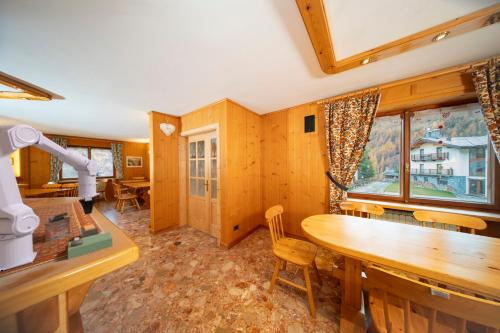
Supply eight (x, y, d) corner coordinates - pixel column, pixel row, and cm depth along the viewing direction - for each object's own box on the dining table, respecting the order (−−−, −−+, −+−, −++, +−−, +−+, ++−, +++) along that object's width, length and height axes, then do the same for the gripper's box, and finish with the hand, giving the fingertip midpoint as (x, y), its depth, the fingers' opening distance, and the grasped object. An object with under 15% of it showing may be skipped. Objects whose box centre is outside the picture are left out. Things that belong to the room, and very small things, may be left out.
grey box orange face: (82, 241, 63) (82, 230, 63) (80, 236, 67) (80, 226, 67) (98, 237, 66) (97, 226, 66) (95, 233, 71) (95, 223, 71)
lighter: (50, 241, 63) (49, 217, 63) (42, 242, 63) (41, 217, 63) (73, 233, 71) (72, 211, 71) (66, 233, 71) (65, 211, 71)
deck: (68, 259, 51) (67, 246, 51) (69, 245, 59) (69, 234, 59) (112, 245, 59) (112, 234, 59) (108, 235, 68) (107, 226, 68)
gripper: (100, 185, 70) (101, 214, 71) (97, 183, 80) (98, 208, 80) (77, 187, 65) (78, 219, 65) (77, 184, 75) (78, 212, 75)
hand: (88, 213), depth 72 cm, fingers closed
